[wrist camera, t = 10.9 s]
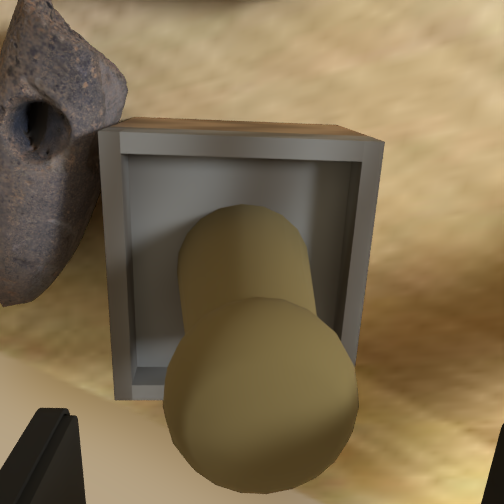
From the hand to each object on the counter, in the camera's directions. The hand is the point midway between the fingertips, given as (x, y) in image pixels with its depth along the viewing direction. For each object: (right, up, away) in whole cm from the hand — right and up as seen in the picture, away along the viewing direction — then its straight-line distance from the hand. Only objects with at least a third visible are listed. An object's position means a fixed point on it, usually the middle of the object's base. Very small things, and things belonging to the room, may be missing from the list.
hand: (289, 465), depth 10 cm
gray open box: (-2, +6, +17) cm, 18 cm away
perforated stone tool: (-11, +10, +16) cm, 22 cm away
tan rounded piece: (-1, +4, +11) cm, 12 cm away
